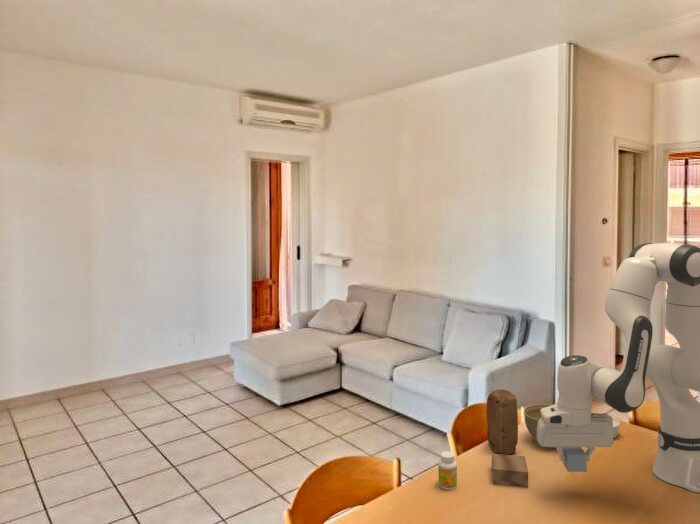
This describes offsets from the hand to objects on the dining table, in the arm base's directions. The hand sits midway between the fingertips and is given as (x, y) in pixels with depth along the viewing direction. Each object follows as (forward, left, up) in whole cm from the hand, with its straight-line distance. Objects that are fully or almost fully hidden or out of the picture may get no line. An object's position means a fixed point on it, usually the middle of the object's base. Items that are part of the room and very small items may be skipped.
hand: (574, 460), depth 146 cm
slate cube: (0, 0, -2) cm, 2 cm away
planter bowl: (-1, -33, -10) cm, 34 cm away
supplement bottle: (+36, -2, -10) cm, 37 cm away
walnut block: (+17, -8, -10) cm, 21 cm away
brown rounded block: (+16, -27, -10) cm, 33 cm away
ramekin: (-22, -41, -10) cm, 48 cm away
